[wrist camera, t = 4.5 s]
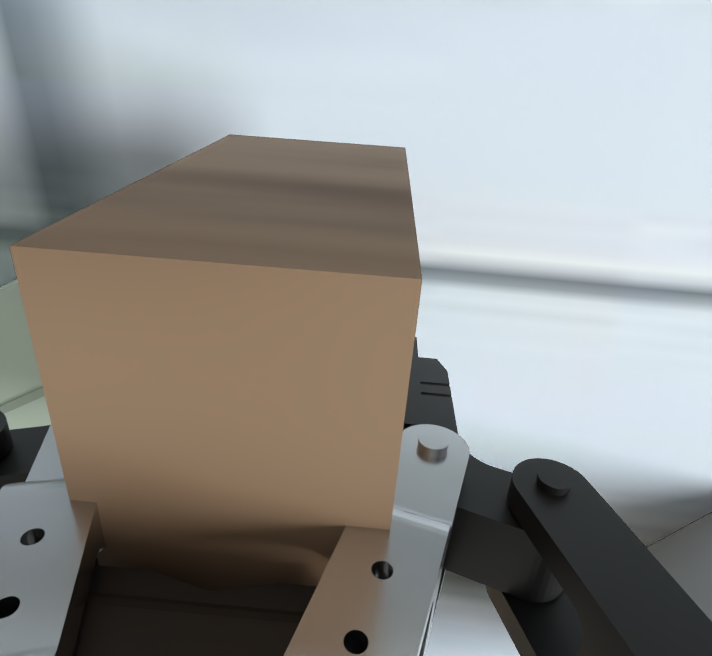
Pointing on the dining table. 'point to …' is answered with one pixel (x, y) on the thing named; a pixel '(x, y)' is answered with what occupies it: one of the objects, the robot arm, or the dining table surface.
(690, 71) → the dining table surface
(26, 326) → the ledge
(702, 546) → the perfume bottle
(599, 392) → the dining table surface
